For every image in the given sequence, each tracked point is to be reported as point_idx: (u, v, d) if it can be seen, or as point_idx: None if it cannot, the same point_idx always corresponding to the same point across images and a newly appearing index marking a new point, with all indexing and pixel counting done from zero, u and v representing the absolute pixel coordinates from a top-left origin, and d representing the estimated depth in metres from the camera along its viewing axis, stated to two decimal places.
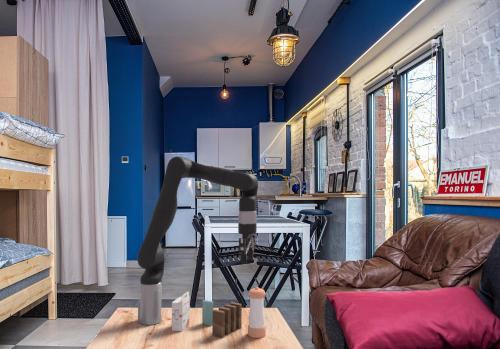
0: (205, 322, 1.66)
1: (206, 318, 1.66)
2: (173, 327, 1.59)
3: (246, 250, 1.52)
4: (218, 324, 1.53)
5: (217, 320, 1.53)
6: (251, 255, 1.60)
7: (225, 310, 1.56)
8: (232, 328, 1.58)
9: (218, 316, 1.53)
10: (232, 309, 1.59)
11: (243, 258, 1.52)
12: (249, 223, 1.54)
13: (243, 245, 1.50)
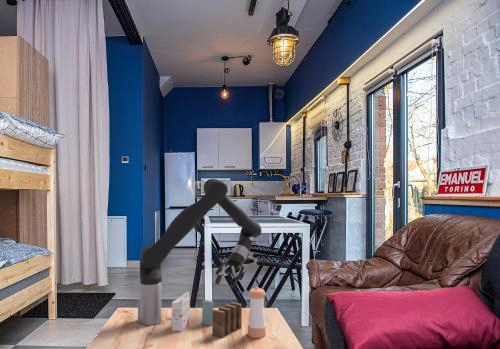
0: (205, 322, 1.66)
1: (206, 318, 1.66)
2: (173, 327, 1.59)
3: None
4: (218, 324, 1.53)
5: (217, 320, 1.53)
6: (219, 281, 1.80)
7: (225, 310, 1.56)
8: (232, 328, 1.58)
9: (218, 316, 1.53)
10: (232, 309, 1.59)
11: (235, 282, 1.75)
12: None
13: (243, 273, 1.78)
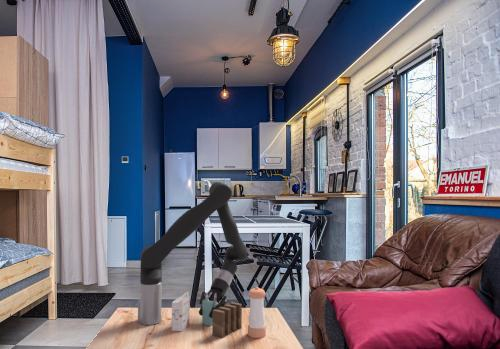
0: (205, 322, 1.66)
1: (206, 318, 1.66)
2: (173, 327, 1.59)
3: None
4: (218, 324, 1.53)
5: (217, 320, 1.53)
6: None
7: (225, 310, 1.56)
8: (232, 328, 1.58)
9: (218, 316, 1.53)
10: (232, 309, 1.59)
11: None
12: None
13: (224, 304, 1.67)
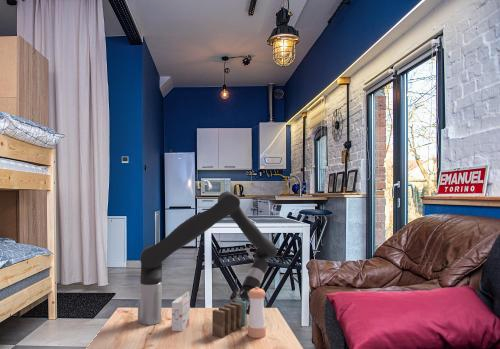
0: None
1: None
2: (173, 327, 1.59)
3: None
4: (218, 324, 1.53)
5: (217, 320, 1.53)
6: None
7: (225, 310, 1.56)
8: (232, 328, 1.58)
9: (218, 316, 1.53)
10: (232, 309, 1.59)
11: None
12: (260, 283, 1.75)
13: None
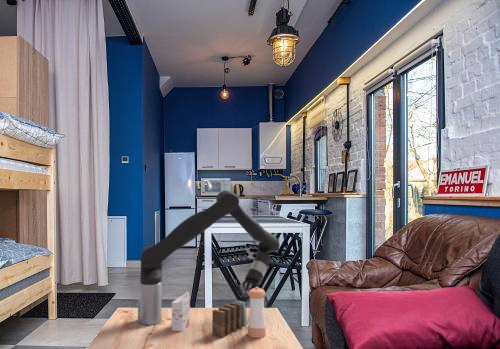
0: None
1: None
2: (173, 327, 1.59)
3: None
4: (218, 324, 1.53)
5: (217, 320, 1.53)
6: None
7: (225, 310, 1.56)
8: (232, 328, 1.58)
9: (218, 316, 1.53)
10: (232, 309, 1.59)
11: (246, 302, 1.68)
12: (263, 276, 1.78)
13: None
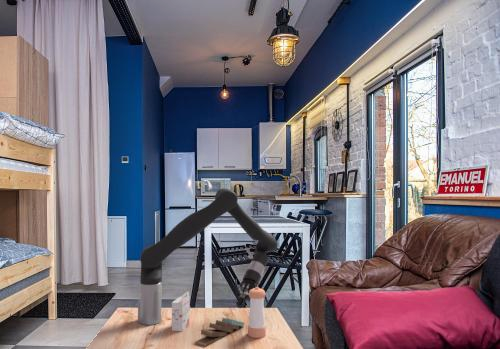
0: None
1: None
2: (173, 327, 1.59)
3: None
4: None
5: None
6: None
7: None
8: None
9: None
10: (218, 329, 1.51)
11: (243, 303, 1.66)
12: None
13: None
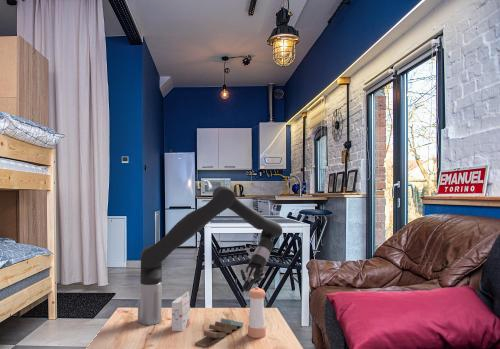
0: None
1: None
2: (173, 327, 1.59)
3: None
4: None
5: None
6: None
7: (212, 337, 1.45)
8: (228, 332, 1.56)
9: None
10: (219, 330, 1.50)
11: (249, 286, 1.70)
12: (266, 262, 1.79)
13: (260, 279, 1.71)
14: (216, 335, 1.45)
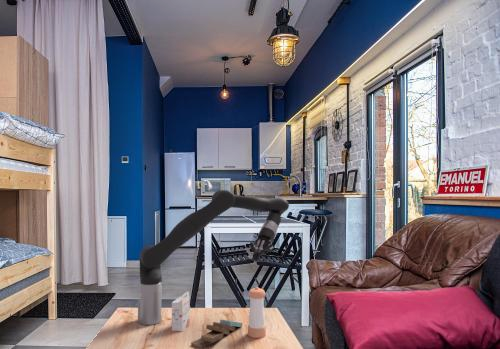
0: None
1: None
2: (173, 327, 1.59)
3: None
4: None
5: None
6: None
7: None
8: (226, 334, 1.54)
9: None
10: (216, 330, 1.48)
11: (259, 257, 1.78)
12: (274, 235, 1.87)
13: (269, 251, 1.79)
14: (214, 339, 1.42)
